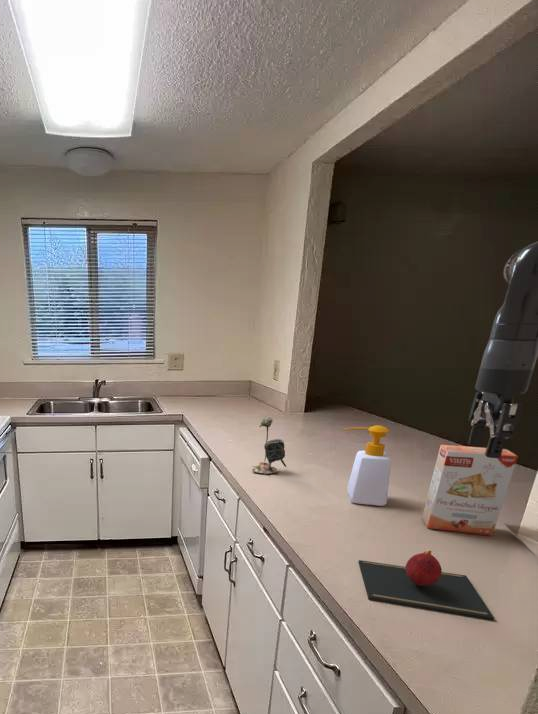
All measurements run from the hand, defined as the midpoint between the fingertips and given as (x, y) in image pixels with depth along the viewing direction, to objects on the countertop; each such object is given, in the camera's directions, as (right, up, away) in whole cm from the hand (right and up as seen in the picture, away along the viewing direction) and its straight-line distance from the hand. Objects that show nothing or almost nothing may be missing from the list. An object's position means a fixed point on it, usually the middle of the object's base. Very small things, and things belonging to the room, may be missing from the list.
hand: (483, 450), depth 84 cm
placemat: (-11, -27, +2) cm, 30 cm away
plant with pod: (-21, -4, +67) cm, 70 cm away
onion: (-11, -27, +2) cm, 29 cm away
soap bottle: (-2, -12, +44) cm, 45 cm away
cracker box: (+14, -18, +26) cm, 34 cm away
